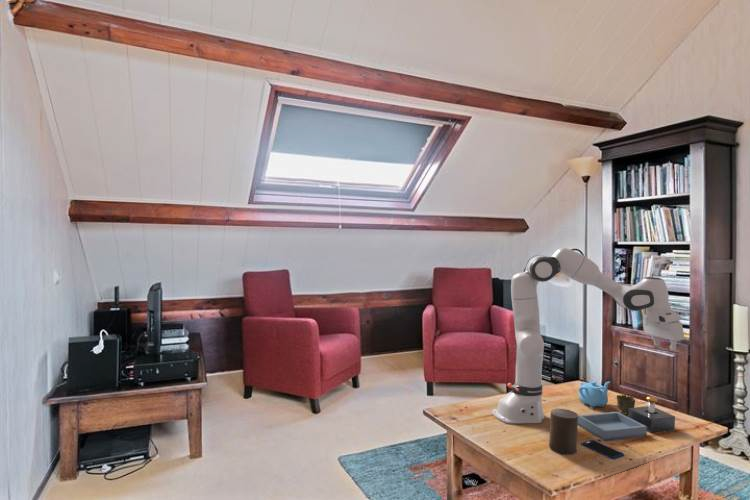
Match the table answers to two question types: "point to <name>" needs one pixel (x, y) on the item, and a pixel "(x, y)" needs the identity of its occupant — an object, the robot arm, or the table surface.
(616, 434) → the tray
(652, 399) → the pin
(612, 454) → the cell phone
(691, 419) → the table surface
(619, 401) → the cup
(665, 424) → the block
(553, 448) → the pillar candle
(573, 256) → the robot arm
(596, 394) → the teapot
